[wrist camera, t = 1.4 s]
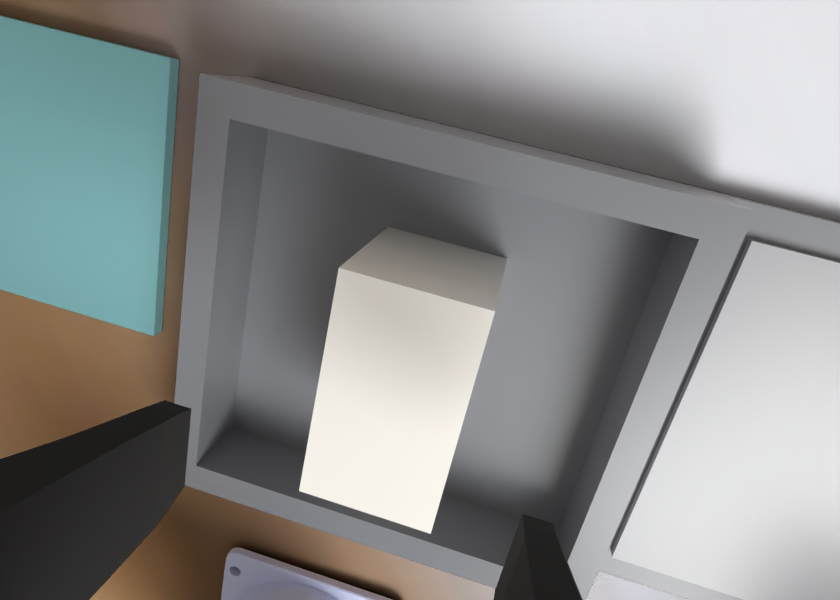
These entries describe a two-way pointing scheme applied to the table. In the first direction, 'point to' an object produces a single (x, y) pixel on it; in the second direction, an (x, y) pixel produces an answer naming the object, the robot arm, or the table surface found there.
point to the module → (399, 374)
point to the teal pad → (85, 173)
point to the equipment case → (526, 347)
